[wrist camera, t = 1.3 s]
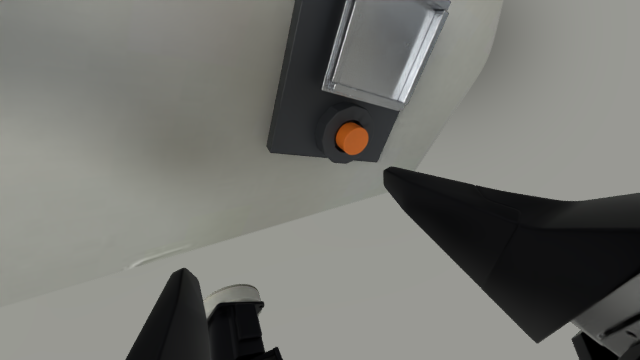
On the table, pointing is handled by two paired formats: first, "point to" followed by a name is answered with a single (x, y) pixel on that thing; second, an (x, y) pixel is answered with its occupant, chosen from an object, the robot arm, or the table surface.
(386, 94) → the brushed steel platform
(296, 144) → the scale
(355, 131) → the button
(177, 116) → the table surface
